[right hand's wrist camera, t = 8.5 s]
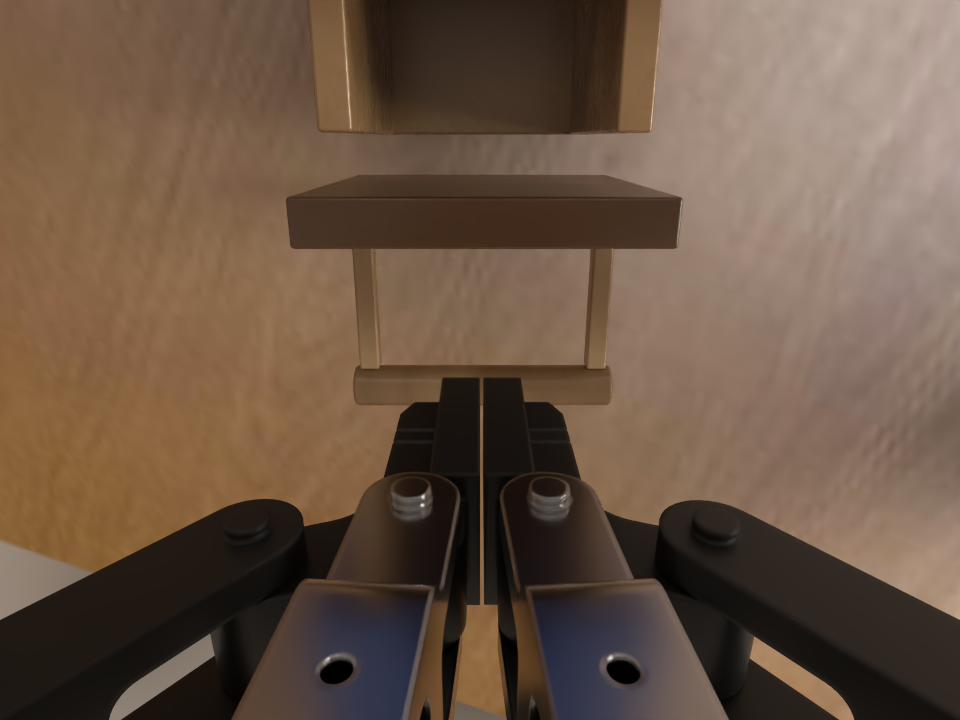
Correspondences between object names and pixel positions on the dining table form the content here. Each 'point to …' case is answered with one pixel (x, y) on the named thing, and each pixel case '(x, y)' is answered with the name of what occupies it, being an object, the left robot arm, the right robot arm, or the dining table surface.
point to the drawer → (484, 198)
